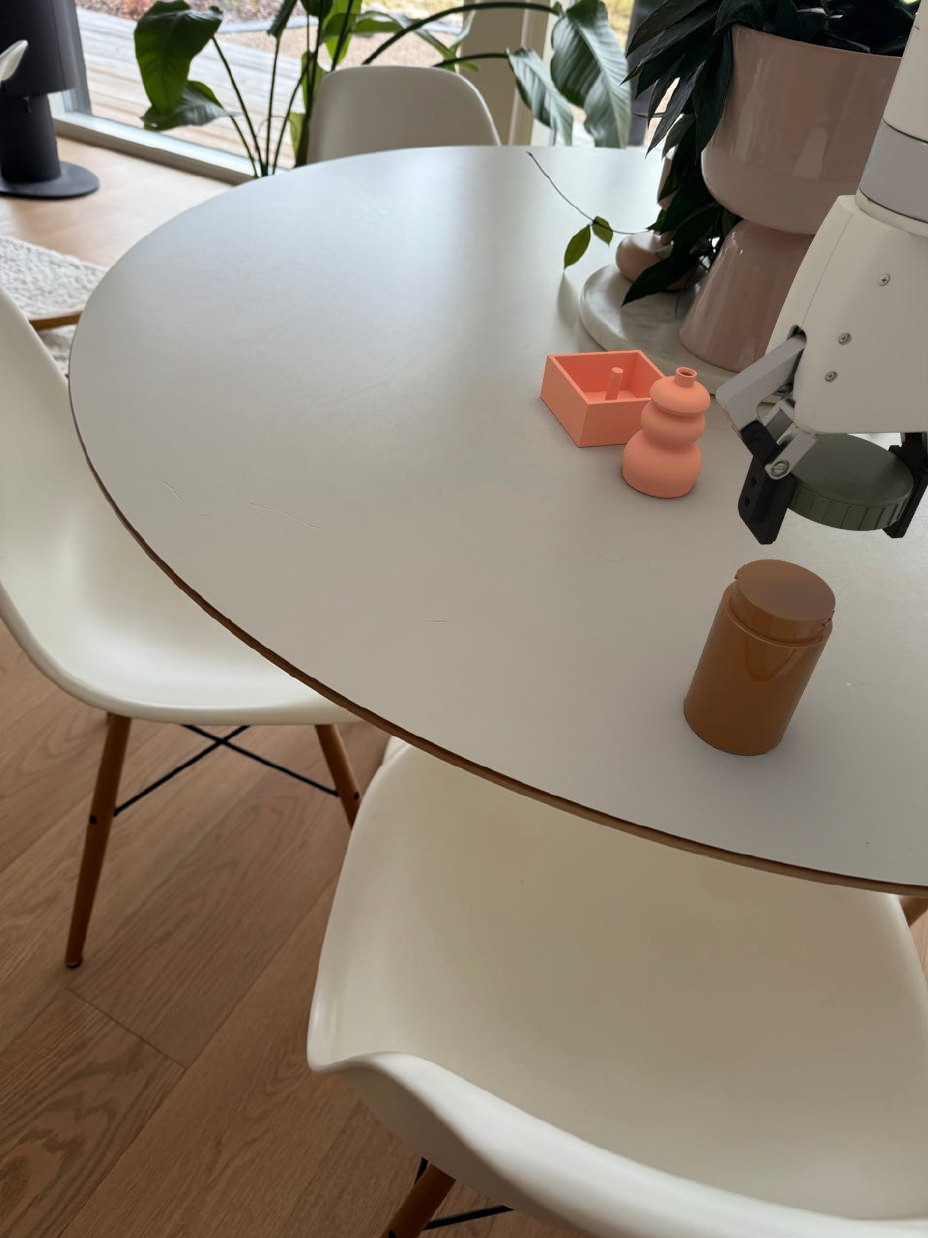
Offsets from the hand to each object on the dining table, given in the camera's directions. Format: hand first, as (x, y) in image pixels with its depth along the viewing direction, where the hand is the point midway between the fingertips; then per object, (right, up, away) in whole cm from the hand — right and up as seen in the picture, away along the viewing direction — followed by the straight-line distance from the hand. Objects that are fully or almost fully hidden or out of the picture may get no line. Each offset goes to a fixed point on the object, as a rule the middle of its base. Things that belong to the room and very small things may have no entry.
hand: (820, 524), depth 54 cm
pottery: (-5, +10, +35) cm, 37 cm away
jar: (-2, -11, +10) cm, 15 cm away
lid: (0, +3, -2) cm, 4 cm away
